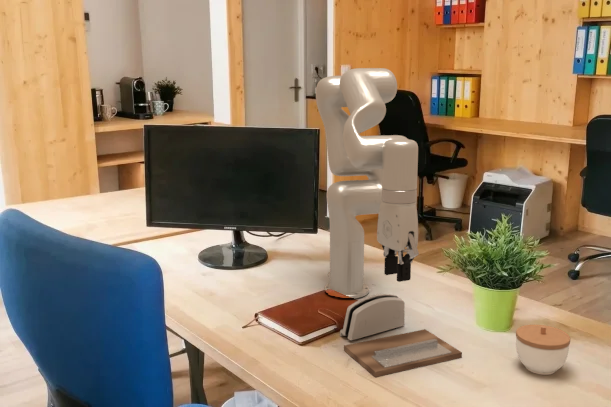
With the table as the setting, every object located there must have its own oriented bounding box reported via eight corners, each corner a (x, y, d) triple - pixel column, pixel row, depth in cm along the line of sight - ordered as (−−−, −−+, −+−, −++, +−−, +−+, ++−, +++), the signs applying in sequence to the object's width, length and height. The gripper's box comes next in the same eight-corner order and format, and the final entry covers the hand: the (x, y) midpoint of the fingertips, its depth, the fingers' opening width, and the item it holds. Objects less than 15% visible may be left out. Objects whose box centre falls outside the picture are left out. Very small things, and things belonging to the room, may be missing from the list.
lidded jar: (578, 377, 128) (582, 334, 127) (531, 382, 126) (534, 339, 124) (548, 354, 139) (551, 315, 137) (504, 359, 137) (506, 319, 135)
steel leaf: (371, 357, 135) (371, 351, 135) (436, 343, 142) (436, 338, 141) (384, 368, 130) (384, 362, 130) (451, 353, 137) (451, 347, 136)
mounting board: (343, 350, 141) (344, 345, 141) (424, 333, 150) (425, 329, 150) (375, 377, 129) (375, 371, 129) (461, 357, 138) (462, 352, 137)
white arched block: (392, 322, 157) (396, 286, 154) (404, 330, 154) (408, 293, 151) (338, 337, 148) (341, 299, 146) (350, 346, 145) (353, 307, 142)
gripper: (364, 191, 141) (363, 269, 144) (406, 205, 126) (403, 291, 129) (393, 189, 144) (391, 265, 147) (436, 201, 129) (433, 286, 132)
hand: (397, 276), depth 138 cm, fingers open, 4 cm apart
